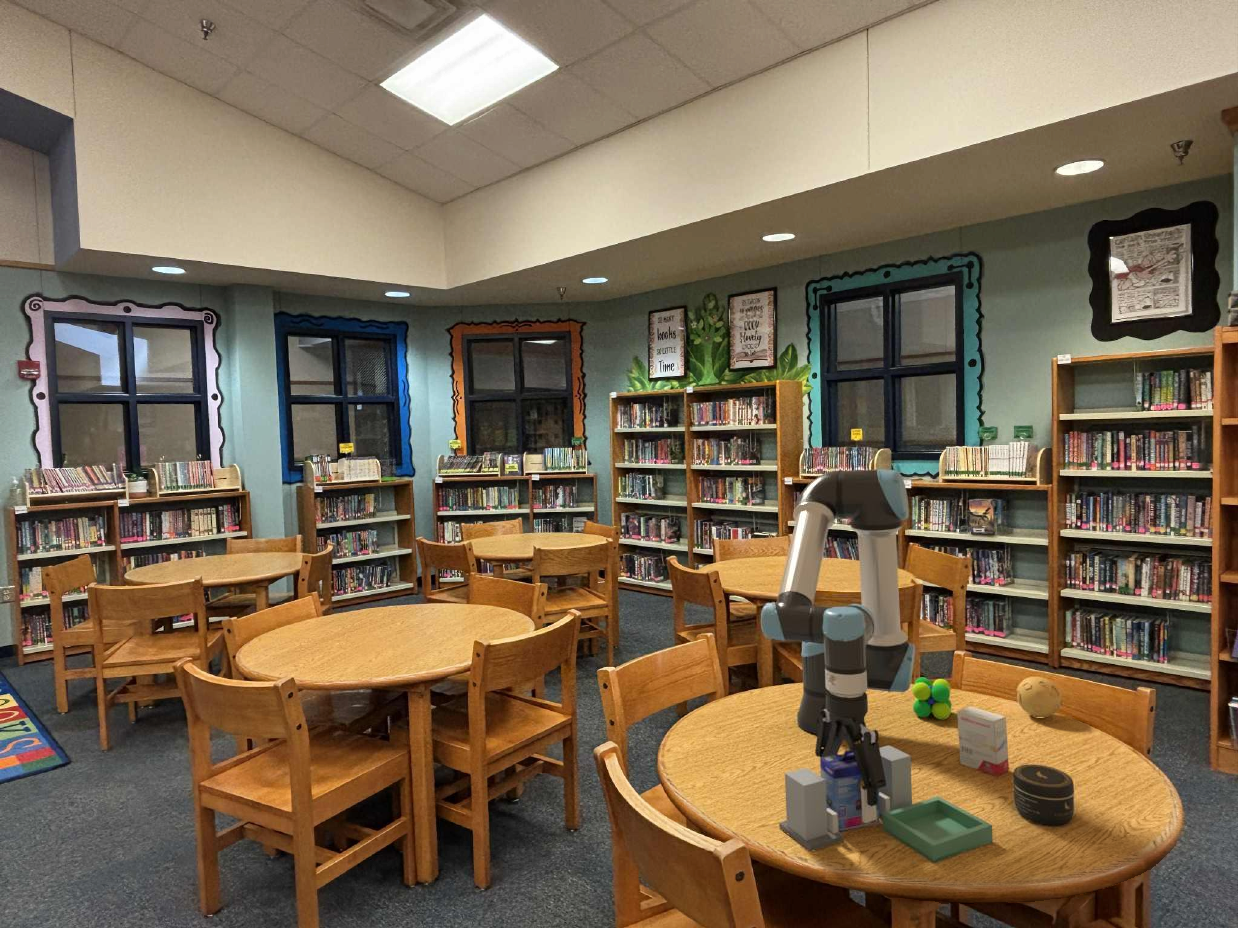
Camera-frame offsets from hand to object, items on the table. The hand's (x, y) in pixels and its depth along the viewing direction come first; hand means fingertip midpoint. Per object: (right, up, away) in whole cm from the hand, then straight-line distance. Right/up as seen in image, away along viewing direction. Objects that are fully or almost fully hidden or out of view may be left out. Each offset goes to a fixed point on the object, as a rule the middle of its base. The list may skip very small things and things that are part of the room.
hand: (850, 808), depth 138 cm
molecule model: (+37, 0, +50) cm, 62 cm away
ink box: (+35, -1, +20) cm, 40 cm away
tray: (+14, -2, -6) cm, 15 cm away
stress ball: (+62, +1, +46) cm, 77 cm away
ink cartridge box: (0, -3, 0) cm, 3 cm away
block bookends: (0, -3, 0) cm, 3 cm away
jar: (+36, -1, 0) cm, 36 cm away
